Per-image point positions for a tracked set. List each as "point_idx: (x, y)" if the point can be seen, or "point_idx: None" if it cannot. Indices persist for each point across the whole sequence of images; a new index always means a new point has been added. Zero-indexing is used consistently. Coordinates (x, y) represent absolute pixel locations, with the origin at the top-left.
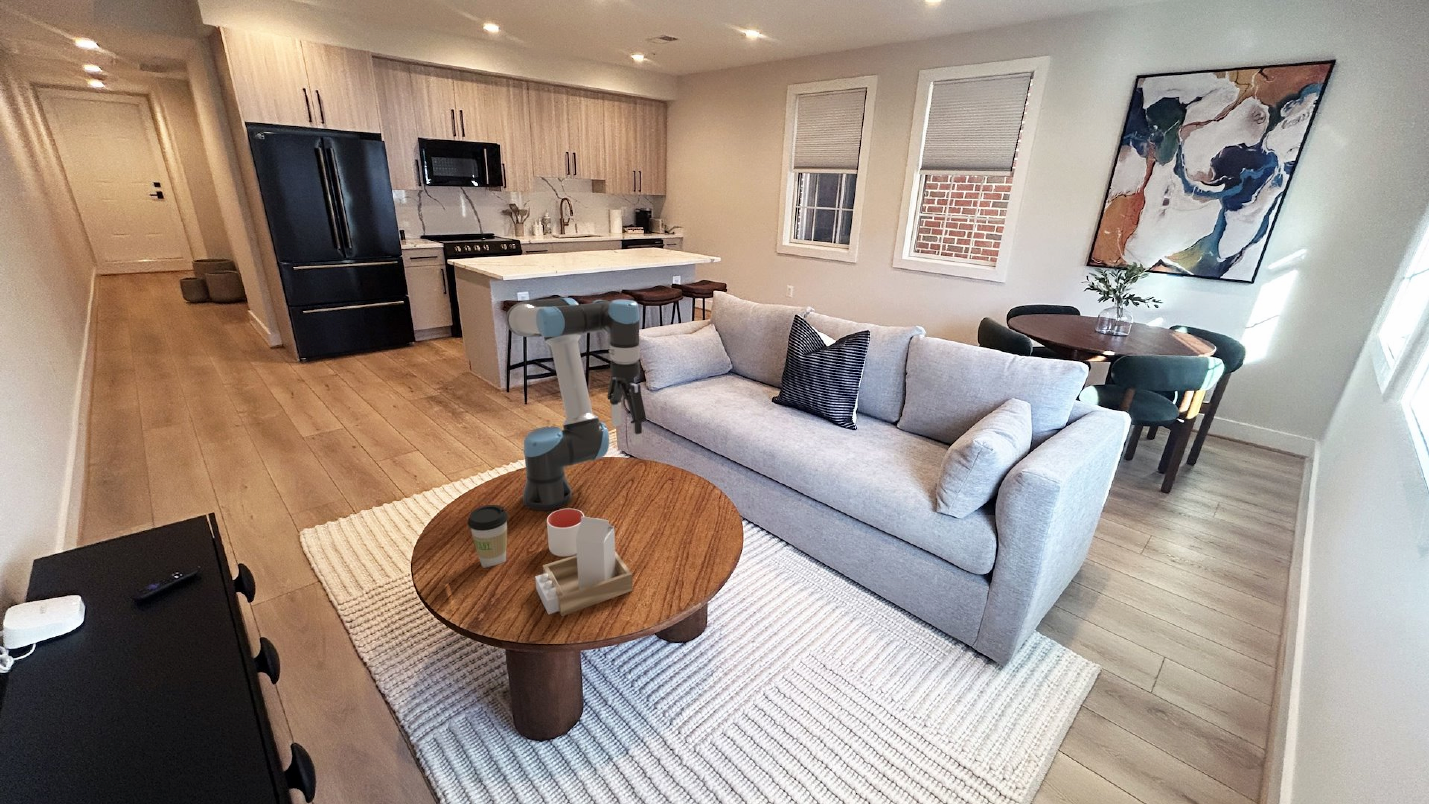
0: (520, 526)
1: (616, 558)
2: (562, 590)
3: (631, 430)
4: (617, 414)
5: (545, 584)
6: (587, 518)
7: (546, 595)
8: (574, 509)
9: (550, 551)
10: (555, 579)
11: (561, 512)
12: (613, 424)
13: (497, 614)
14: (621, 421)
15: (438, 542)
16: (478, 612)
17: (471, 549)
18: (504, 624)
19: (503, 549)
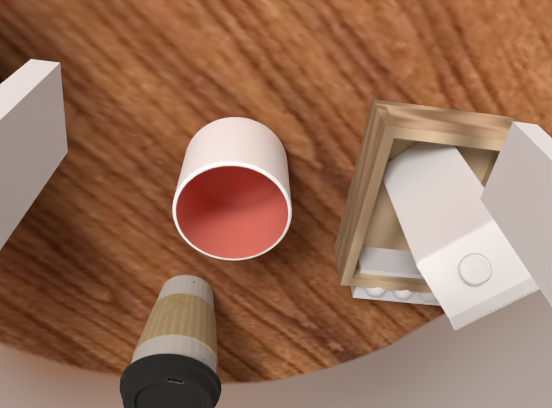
0: (66, 210)
1: (453, 144)
2: (388, 238)
3: (535, 281)
4: (11, 164)
5: (402, 299)
6: (475, 318)
7: (426, 301)
8: (197, 174)
9: (236, 205)
10: (394, 273)
11: (177, 200)
12: (59, 156)
13: (351, 329)
14: (45, 78)
15: (55, 347)
16: (323, 347)
17: (116, 312)
18: (383, 328)
19: (209, 312)
